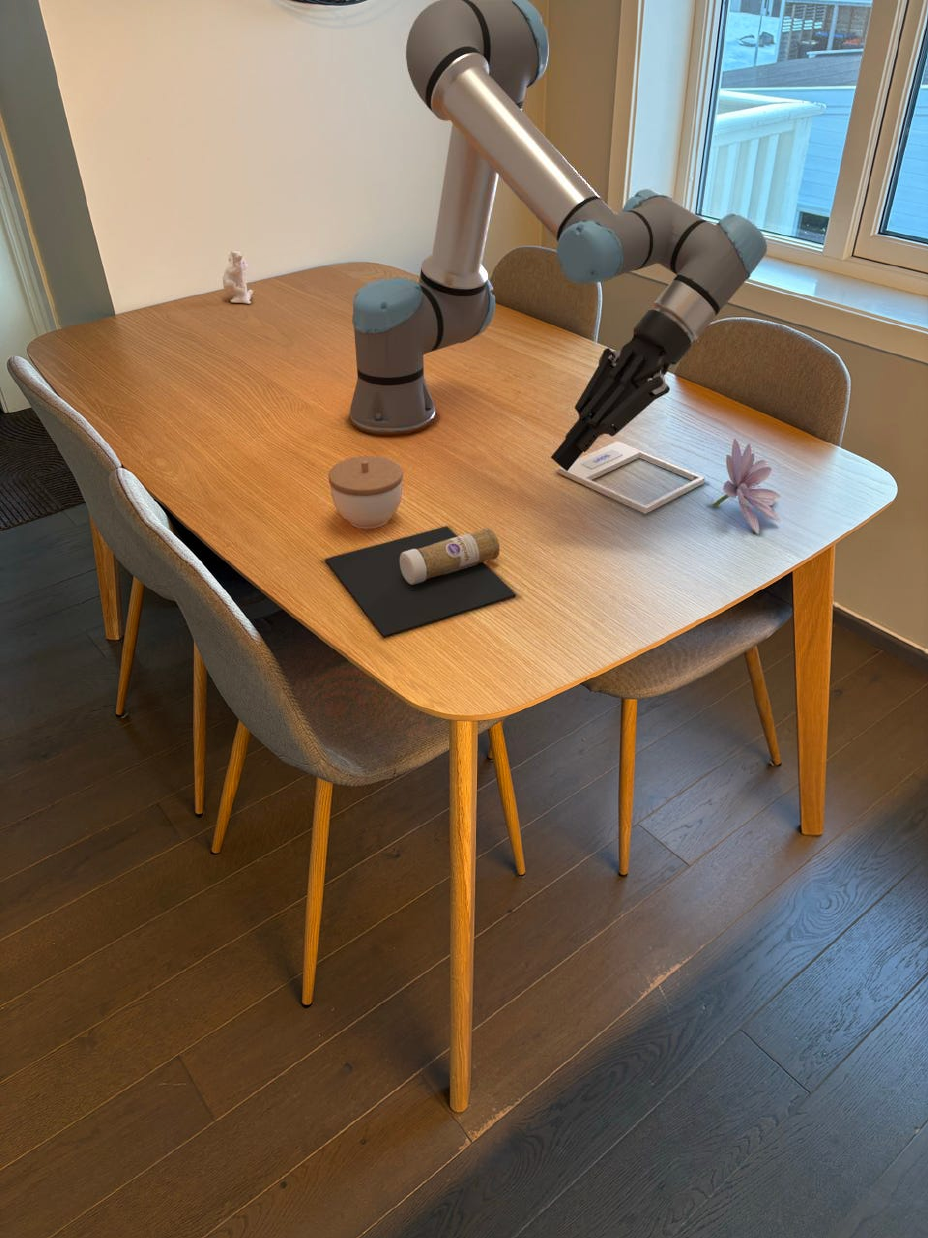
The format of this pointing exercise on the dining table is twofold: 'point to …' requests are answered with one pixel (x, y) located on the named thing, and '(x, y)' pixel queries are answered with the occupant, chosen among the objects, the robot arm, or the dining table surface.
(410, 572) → the sprinkles bottle
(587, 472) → the photo frame
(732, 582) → the dining table surface
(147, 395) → the dining table surface
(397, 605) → the mat
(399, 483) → the trinket box
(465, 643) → the dining table surface
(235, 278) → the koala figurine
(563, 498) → the dining table surface
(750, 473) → the water lily
